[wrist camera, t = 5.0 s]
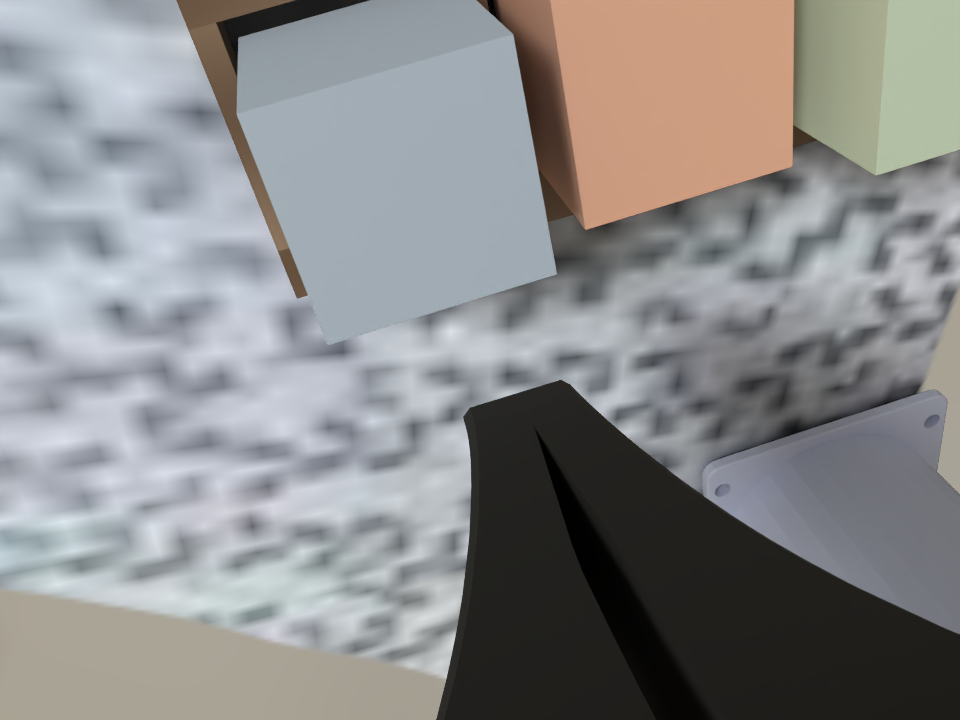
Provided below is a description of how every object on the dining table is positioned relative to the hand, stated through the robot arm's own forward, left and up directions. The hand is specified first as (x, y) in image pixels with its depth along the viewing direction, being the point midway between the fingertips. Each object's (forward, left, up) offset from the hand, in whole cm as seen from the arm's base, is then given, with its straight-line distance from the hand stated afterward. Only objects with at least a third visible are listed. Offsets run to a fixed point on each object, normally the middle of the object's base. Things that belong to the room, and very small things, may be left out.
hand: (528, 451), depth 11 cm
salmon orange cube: (+2, -5, -9) cm, 11 cm away
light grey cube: (+2, 0, -8) cm, 8 cm away
